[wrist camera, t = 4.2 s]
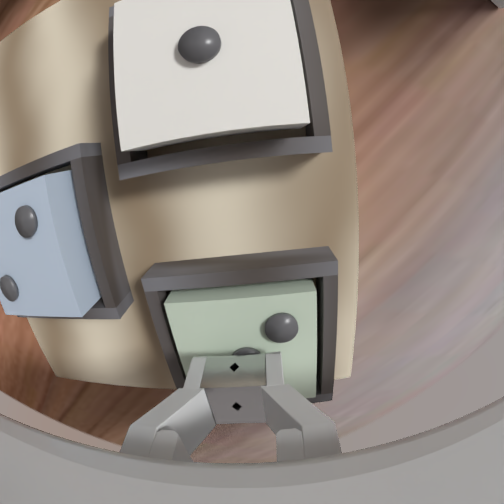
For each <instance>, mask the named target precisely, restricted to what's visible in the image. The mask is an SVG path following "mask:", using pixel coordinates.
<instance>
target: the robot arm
mask: <svg viewBox="0 0 504 504" xmlns="http://www.w3.org/2000/svg"><path fill="white" fill-rule="evenodd" d="M262 422H266V423H267V425H268V426H269V427H270V428H271V430H272V431H273V432H274V433H275V435H276V442H277V462H266V463H200V462H193V461H192V459H191V457H190V455H191V454H192V453H193V451H194V450H195V449H196V448H197V447H198V446H199V445H200V443H201V442H202V441H203V440H204V439H205V438H206V437H207V435H208V434H209V433H210V432H211V431H212V430H213V428H214V427H215V426H216V424H231V423H262ZM0 504H504V397H502V398H500V399H498V400H496V401H495V402H493V403H491V404H489V405H487V406H485V407H483V408H481V409H478V410H476V411H474V412H472V413H470V414H468V415H465V416H463V417H461V418H458V419H456V420H454V421H451V422H449V423H446V424H444V425H441V426H439V427H436V428H433V429H430V430H428V431H425V432H422V433H419V434H416V435H413V436H410V437H406V438H403V439H400V440H396V441H393V442H389V443H386V444H382V445H378V446H374V447H370V448H365V449H361V450H356V451H352V452H346V453H342V452H341V447H340V443H339V438H338V434H337V430H336V425H335V422H334V421H333V420H332V419H330V418H329V417H328V416H327V415H325V414H324V413H323V412H322V411H320V410H319V409H318V408H317V407H316V406H314V405H313V404H312V403H311V402H310V401H308V400H307V399H306V398H305V397H304V396H302V395H301V394H300V393H299V392H298V391H296V390H295V389H294V388H293V387H292V386H291V385H290V384H284V376H283V366H282V355H281V352H280V351H278V352H270V353H264V354H252V355H238V356H208V357H207V356H200V357H193V358H192V360H191V363H190V366H189V370H188V373H187V376H186V380H185V383H184V386H183V388H179V389H177V390H176V391H175V392H174V393H172V394H171V395H170V396H168V397H167V398H166V399H164V400H163V401H162V402H161V403H159V404H158V405H157V406H155V407H154V408H153V409H151V410H150V411H149V412H147V413H146V414H145V415H143V416H142V417H141V418H139V419H138V420H136V421H135V422H134V423H132V424H131V425H130V427H129V430H128V432H127V435H126V437H125V440H124V442H123V445H122V447H121V450H120V452H115V451H110V450H106V449H101V448H97V447H93V446H89V445H85V444H82V443H78V442H74V441H71V440H68V439H64V438H61V437H58V436H55V435H52V434H49V433H46V432H44V431H41V430H38V429H35V428H33V427H30V426H28V425H25V424H22V423H20V422H18V421H16V420H13V419H11V418H8V417H6V416H4V415H2V414H0Z"/></svg>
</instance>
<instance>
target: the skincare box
mask: <svg viewBox="0 0 504 504" xmlns="http://www.w3.org/2000/svg"><path fill="white" fill-rule="evenodd" d="M491 1H492V2H493V3H494V4H495V5H496V6H497V7H499V8H504V0H491Z"/></svg>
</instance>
